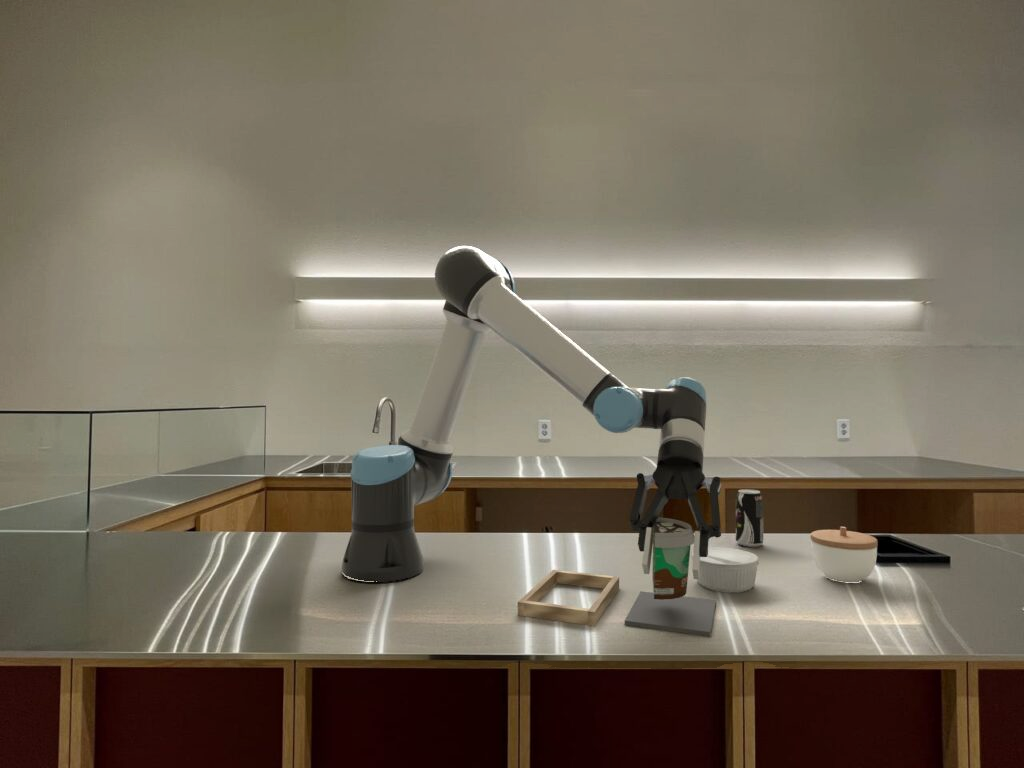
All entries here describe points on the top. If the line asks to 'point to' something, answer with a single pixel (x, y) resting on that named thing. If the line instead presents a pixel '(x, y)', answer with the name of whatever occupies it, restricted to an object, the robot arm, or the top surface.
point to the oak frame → (567, 613)
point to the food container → (671, 557)
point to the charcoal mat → (673, 614)
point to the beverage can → (749, 518)
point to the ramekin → (728, 570)
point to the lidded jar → (844, 554)
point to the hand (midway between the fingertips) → (670, 571)
